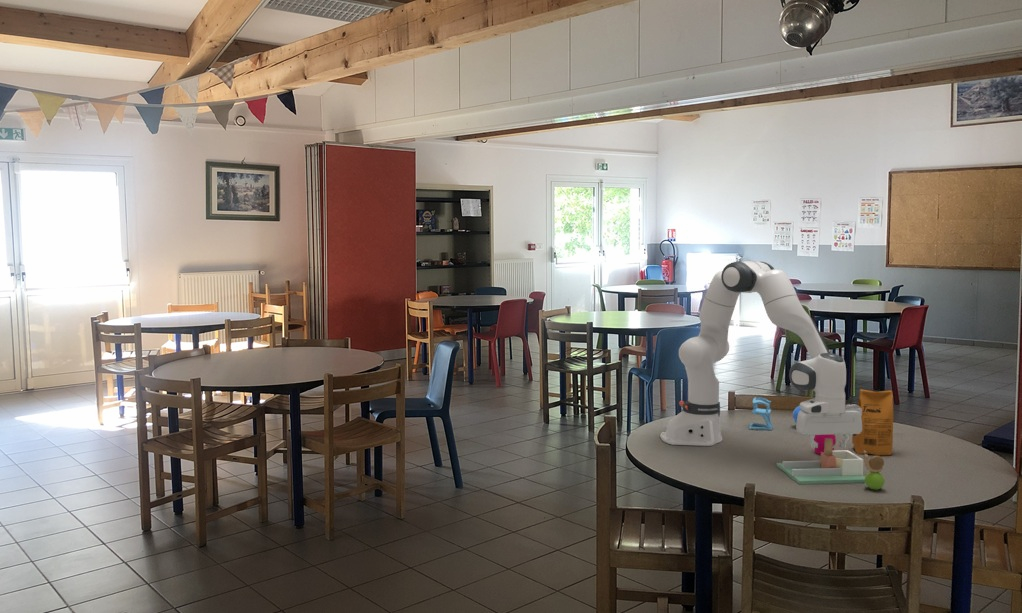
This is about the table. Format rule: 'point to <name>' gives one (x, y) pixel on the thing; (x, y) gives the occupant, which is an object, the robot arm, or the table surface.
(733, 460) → the table surface
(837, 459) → the ball
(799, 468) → the pitch
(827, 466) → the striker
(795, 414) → the cell model
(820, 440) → the pepper mill
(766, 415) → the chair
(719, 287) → the robot arm
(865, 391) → the coffee package
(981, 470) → the table surface
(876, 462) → the snail figurine
